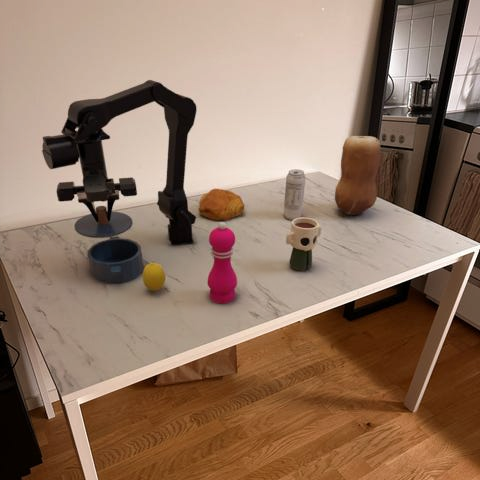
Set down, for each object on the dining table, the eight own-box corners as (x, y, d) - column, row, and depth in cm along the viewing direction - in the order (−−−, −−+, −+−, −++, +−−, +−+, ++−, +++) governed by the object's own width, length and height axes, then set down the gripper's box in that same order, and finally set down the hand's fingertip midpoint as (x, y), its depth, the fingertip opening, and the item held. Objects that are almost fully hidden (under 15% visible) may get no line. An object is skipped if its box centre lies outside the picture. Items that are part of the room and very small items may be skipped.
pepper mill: (207, 288, 116) (205, 215, 104) (235, 288, 117) (237, 215, 105) (208, 305, 111) (206, 230, 98) (237, 304, 111) (239, 229, 99)
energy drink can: (304, 215, 152) (309, 171, 143) (296, 222, 148) (300, 176, 139) (288, 211, 155) (292, 167, 146) (279, 217, 151) (283, 172, 142)
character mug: (291, 277, 122) (295, 232, 114) (276, 265, 126) (280, 221, 119) (324, 267, 126) (330, 224, 118) (309, 256, 131) (314, 213, 123)
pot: (141, 250, 131) (138, 232, 128) (145, 286, 117) (143, 266, 113) (92, 255, 129) (88, 236, 125) (90, 292, 114) (86, 272, 111)
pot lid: (131, 212, 126) (128, 194, 123) (134, 236, 115) (132, 217, 112) (75, 217, 123) (71, 198, 120) (74, 242, 112) (69, 222, 109)
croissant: (215, 205, 162) (213, 183, 158) (251, 211, 154) (250, 187, 150) (188, 218, 153) (185, 194, 149) (225, 225, 144) (223, 200, 140)
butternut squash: (346, 201, 162) (359, 127, 147) (380, 213, 155) (397, 136, 140) (323, 212, 154) (334, 136, 139) (357, 225, 147) (373, 146, 132)
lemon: (162, 298, 113) (159, 270, 108) (141, 295, 114) (137, 267, 109) (169, 286, 117) (167, 258, 112) (148, 283, 118) (145, 256, 113)
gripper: (48, 175, 100) (63, 239, 110) (134, 169, 104) (142, 231, 114) (51, 158, 109) (65, 219, 118) (131, 153, 113) (138, 213, 122)
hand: (103, 221), depth 118 cm, fingers closed on pot lid, 3 cm apart
